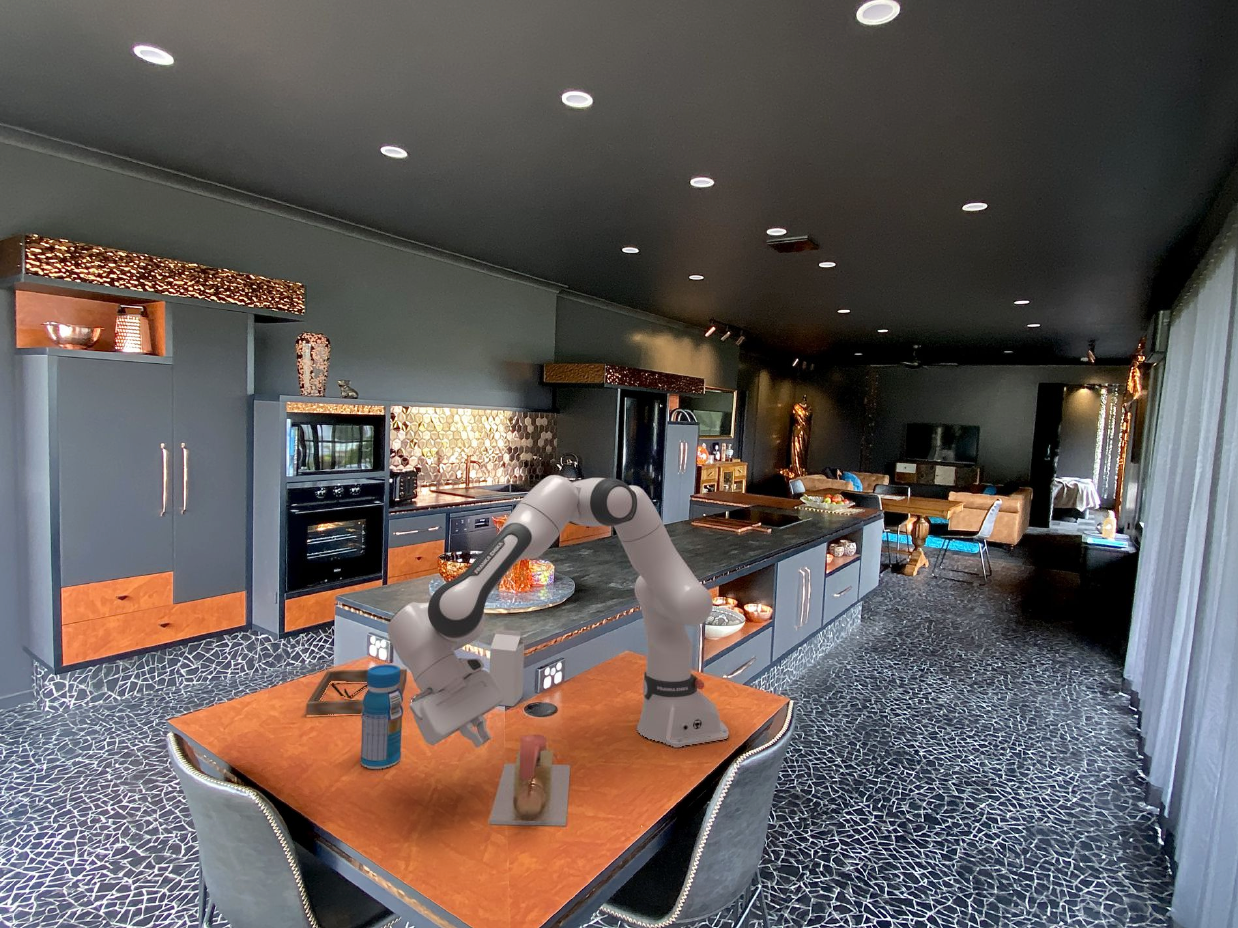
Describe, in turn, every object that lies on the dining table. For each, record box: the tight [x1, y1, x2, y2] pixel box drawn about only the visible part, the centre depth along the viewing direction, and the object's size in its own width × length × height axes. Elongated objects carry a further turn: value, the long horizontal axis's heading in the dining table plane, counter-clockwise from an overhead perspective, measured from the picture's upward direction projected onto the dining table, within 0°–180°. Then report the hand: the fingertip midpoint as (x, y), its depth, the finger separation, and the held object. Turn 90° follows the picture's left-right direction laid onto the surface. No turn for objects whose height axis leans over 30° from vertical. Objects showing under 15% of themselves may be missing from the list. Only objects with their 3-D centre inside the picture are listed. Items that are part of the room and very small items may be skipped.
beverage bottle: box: [360, 664, 404, 770], centre depth 145 cm, size 8×8×20 cm
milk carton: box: [488, 629, 525, 707], centre depth 182 cm, size 7×7×19 cm
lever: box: [519, 734, 547, 780], centre depth 128 cm, size 16×4×7 cm, turn 0°
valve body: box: [488, 747, 571, 827], centre depth 134 cm, size 22×14×9 cm, turn 2°
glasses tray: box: [305, 668, 408, 716], centre depth 180 cm, size 21×24×4 cm
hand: (484, 742), depth 125 cm, fingers closed
